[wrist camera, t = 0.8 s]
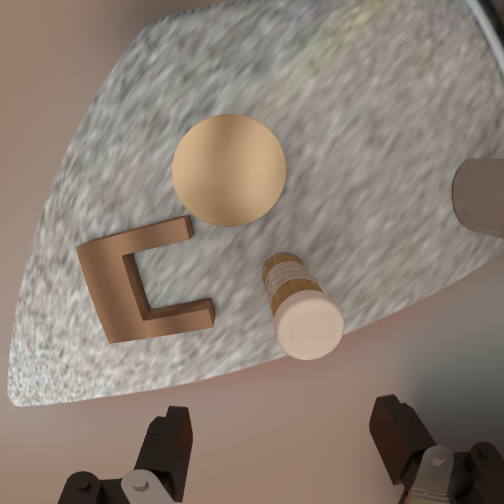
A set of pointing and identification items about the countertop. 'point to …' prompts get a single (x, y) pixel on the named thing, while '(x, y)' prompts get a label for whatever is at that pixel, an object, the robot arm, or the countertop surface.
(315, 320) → the sprinkles bottle
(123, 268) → the c-shaped block
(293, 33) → the countertop surface
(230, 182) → the bobbin
